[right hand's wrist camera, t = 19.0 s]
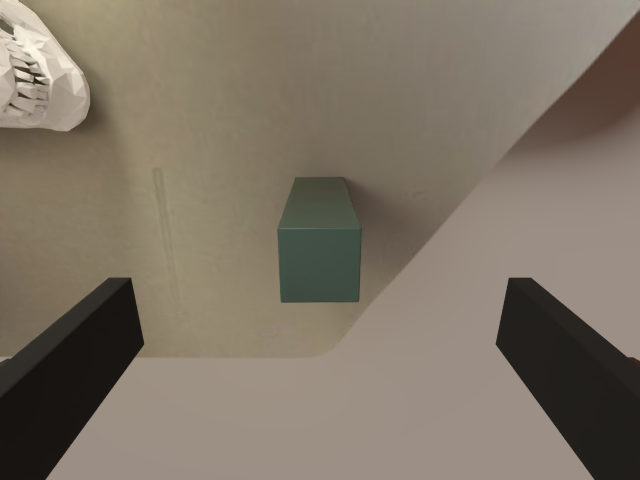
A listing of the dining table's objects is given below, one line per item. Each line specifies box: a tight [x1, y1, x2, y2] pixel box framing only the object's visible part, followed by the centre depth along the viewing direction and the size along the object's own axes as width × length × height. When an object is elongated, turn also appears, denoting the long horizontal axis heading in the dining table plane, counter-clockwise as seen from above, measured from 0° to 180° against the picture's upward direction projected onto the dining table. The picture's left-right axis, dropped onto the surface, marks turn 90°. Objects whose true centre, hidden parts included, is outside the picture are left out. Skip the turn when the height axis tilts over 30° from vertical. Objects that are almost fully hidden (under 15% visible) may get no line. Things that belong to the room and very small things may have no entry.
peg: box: [278, 177, 362, 302], centre depth 25 cm, size 4×4×14 cm
